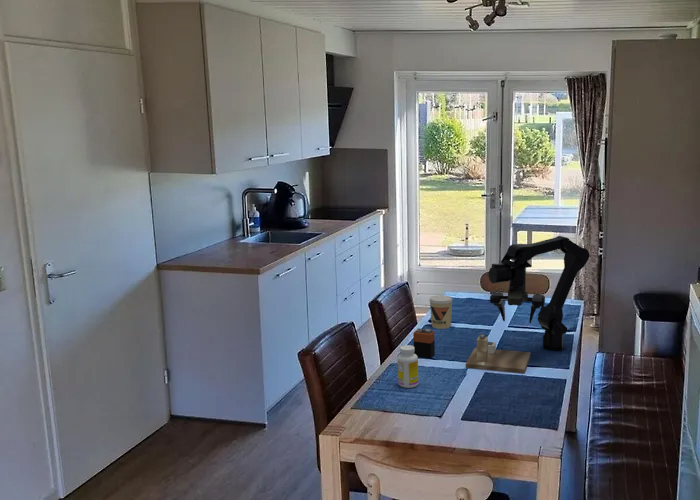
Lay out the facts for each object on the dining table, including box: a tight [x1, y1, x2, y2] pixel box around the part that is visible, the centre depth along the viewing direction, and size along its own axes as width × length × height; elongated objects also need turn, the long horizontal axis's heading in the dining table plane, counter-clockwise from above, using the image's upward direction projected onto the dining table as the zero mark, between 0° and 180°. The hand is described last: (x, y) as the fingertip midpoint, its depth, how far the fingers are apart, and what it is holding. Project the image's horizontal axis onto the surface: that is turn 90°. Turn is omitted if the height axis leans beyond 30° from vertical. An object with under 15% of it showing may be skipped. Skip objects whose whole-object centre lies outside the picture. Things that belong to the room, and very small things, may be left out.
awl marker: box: [476, 333, 489, 362], centre depth 245 cm, size 3×3×9 cm
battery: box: [412, 327, 436, 359], centre depth 257 cm, size 4×7×10 cm, turn 61°
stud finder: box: [488, 341, 497, 354], centre depth 254 cm, size 6×4×3 cm, turn 69°
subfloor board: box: [465, 347, 532, 374], centre depth 248 cm, size 20×17×2 cm
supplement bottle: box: [397, 344, 419, 389], centre depth 230 cm, size 7×7×13 cm
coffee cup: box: [429, 294, 453, 330], centre depth 289 cm, size 9×9×12 cm
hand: (517, 322), depth 253 cm, fingers open, 9 cm apart
